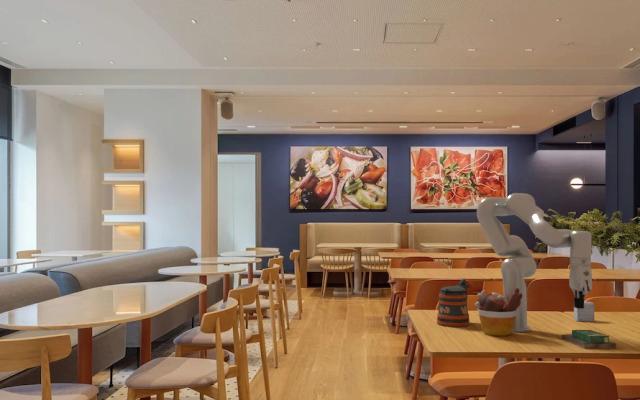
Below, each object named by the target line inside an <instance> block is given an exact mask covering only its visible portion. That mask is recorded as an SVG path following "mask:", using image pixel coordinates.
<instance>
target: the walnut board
mask: <svg viewBox="0 0 640 400" xmlns="http://www.w3.org/2000/svg"><path fill="white" fill-rule="evenodd" d="M561 339H562V340H564V341H566V342H568V343H571V344H573V345H576V346H577V347H580V348H582V349H590V350H591V349H595V350H596V349H617V343H616V342H615V341H614V342H612V341H610V340H609V342H604V343H589V342H586V341H583V340H581V339H578V338H575V337H572V333H571V334H568V333H567V334H561Z"/></svg>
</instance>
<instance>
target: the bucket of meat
mask: <svg viewBox="0 0 640 400" xmlns="http://www.w3.org/2000/svg"><path fill="white" fill-rule="evenodd" d="M519 291H520V290H519V288H516V289H515V290H514V293H513V294H512V295H511V297H510V299H509V301H507V300H506V299H505V297H504V295H501V294H499V293H497V292H493V291H492V293H489V294H486V293H487V291H486V290H485V289H483V290H482V291H481V292H479V293H477V294H476V296H477V298H478V299H477V300H476V302H475V303H474V306H475V307H476V308H477V313H478V317H479V321H480V326H481V330H482V332H483V334H485V335H487V336H490V337H491V336H492V337H508V336H510V335H512V334H513V328H514V323H515V318H516V314H517V310H516V309H517V308H518V307H519V306H520V304H521V301H520V300H521V298H522V296H523V295H522V293H519Z"/></svg>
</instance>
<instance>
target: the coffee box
mask: <svg viewBox="0 0 640 400" xmlns="http://www.w3.org/2000/svg"><path fill="white" fill-rule="evenodd" d="M571 334H572V337H575V338H578V339H581V340H583V341H586V342H589V343H604V342H609V341H610V335H609V334H607V333H602V332H598V331H595V330H592V329H572V330H571Z"/></svg>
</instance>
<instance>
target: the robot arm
mask: <svg viewBox="0 0 640 400" xmlns="http://www.w3.org/2000/svg"><path fill="white" fill-rule="evenodd" d="M498 216H499V217H507V216H516V217H518V218H519V219H521V221H523V222H524V223H525V224H526V225H528V226H529V228H530V231H531V232H532V233H533V234H534V236H535V237H536V238H537V239H538V240H540V241H541V242H542V243H544V244H545V245H546V246H548V247H550V248H553V249H559V248H560V249H561V248H569V249H570V250H569V265H570V268H569V281H568V283H569V287H570V289H571V291H572V292H573V297H574V300H573V308H574V307H575V308H584V302H585V299H586V296H589V295H588V293H589V292H592V290H593V277H592V275H593V273H592V267H591V265H592V261H591V260H592V259H591V258H592V233H591V232H590V231H587V230H572V229H567V228H566V229H565V228H563V229H562V228H558V229H557V228H555V227H554V226H552V225H551V224H549V223H548V222H547V221H546V220H545V219H544V217H545V212H544V210H543V209H542V208H540V207H539V206H537V205H536V200H535V198H534V197H533V195H531V194H529V193H525V192H524V193H523V192H520V193H519V192H513V193H511V194H509V195H508V196H507V197H496V196H492V197H491V196H490V197H489V196H488V197H486V198H483V199H481V201H480V202H479V203H478V205H477V208H476V217H477V220H478V223H479V224H480V227H481V228H482V229H483V232H484V233H485V235H486V237H487V239H488V242H490V245H491V247H492V249H493V251H494V253H495V254H496V255H497V256H499V257H504V258H505V257H507V258H505V259H504V260H503V261H502V262H501V265H500V272H501V277H502V285H503V288H502V289H503V297H505V299H506V300H507V301H509V299H510V297H511V295H512V294H513V293H514V290H515V289H516V288H519V290H520V291H519V293H522V295H523V296H522V298H521V300H520V301H521V304H520V306H519V307H518V308H517V309H516V310H517V314H516V318H515V323H514V328H513V332H514V333H525V332H531V331H532V328H531V327H530V326H528V311H527V310H528V309H527V307H528V306H527V303H528V302H527V301H528V300H527V299H528V298H527V285H526V282H525V278H530V277H532V276H534V275H535V273H536V272H537V263H536V261H535V259H534V257H533V255H532V252H531V251H530V250H529V247H528V246H527V244H526V242H525V241H524V239H522V238H521V237H520V236H518V235H515V234H509V233H508V232H507V230H506V229H505V226H504V225H503V223H502V222H501V221H500V220H499V219H498V218H497V217H498ZM513 332H512V333H513Z"/></svg>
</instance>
